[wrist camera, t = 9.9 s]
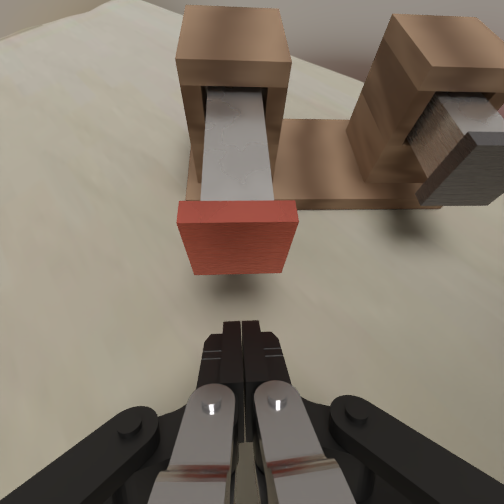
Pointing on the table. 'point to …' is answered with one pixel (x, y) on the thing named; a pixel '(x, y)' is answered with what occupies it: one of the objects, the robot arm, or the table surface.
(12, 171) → the table surface
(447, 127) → the charcoal plug
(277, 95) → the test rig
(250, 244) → the red plug
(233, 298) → the table surface
